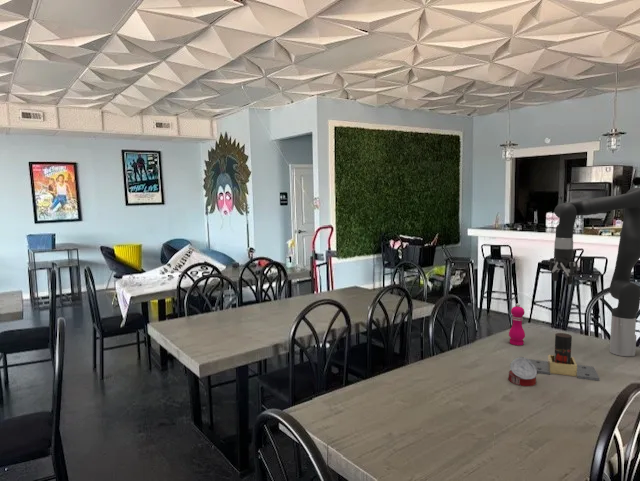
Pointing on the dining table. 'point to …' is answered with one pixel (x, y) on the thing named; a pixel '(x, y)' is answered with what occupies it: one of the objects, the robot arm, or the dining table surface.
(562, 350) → the deodorant
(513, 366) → the canned food
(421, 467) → the dining table surface
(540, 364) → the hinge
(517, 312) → the pepper mill
